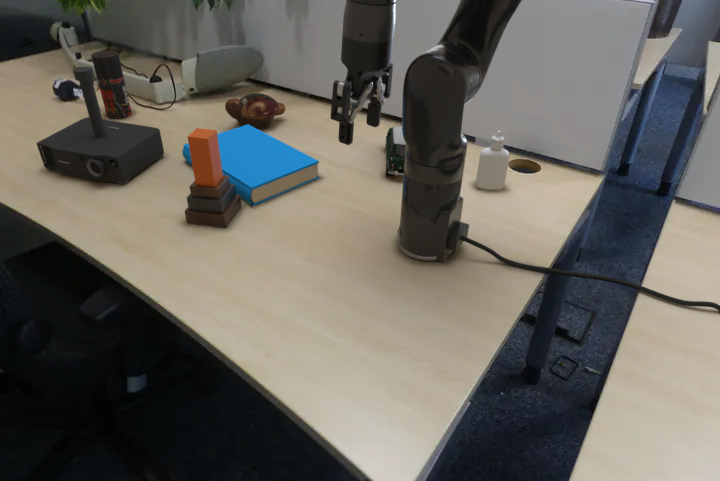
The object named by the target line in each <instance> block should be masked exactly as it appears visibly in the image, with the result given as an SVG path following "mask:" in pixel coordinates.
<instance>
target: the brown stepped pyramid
mask: <svg viewBox="0 0 720 481" xmlns="http://www.w3.org/2000/svg"><path fill="white" fill-rule="evenodd" d="M189 191H190V193H189V194H188V196H186V202H187V207H186V209H185V210H184V216H185V221H186V223H188V224H194V225H203V226H207V227H208V226H210V227H217V228H224V229H226V228H227V227H228V226H229V225H230V224H231V222H232V221H233V219H234V218H235V216H236V215H237V213H238V212H239V211H240V209H241V208H242V198H241V197H240V195H236V190H235V184H230V179H229V176H226V175H223V178H222V179H221V180H220V181H219V183H218V184H217V185H216V186H215V187H213V186H205V185H196V183H195V180H194V181H192V183H190V185H189Z"/></svg>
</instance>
